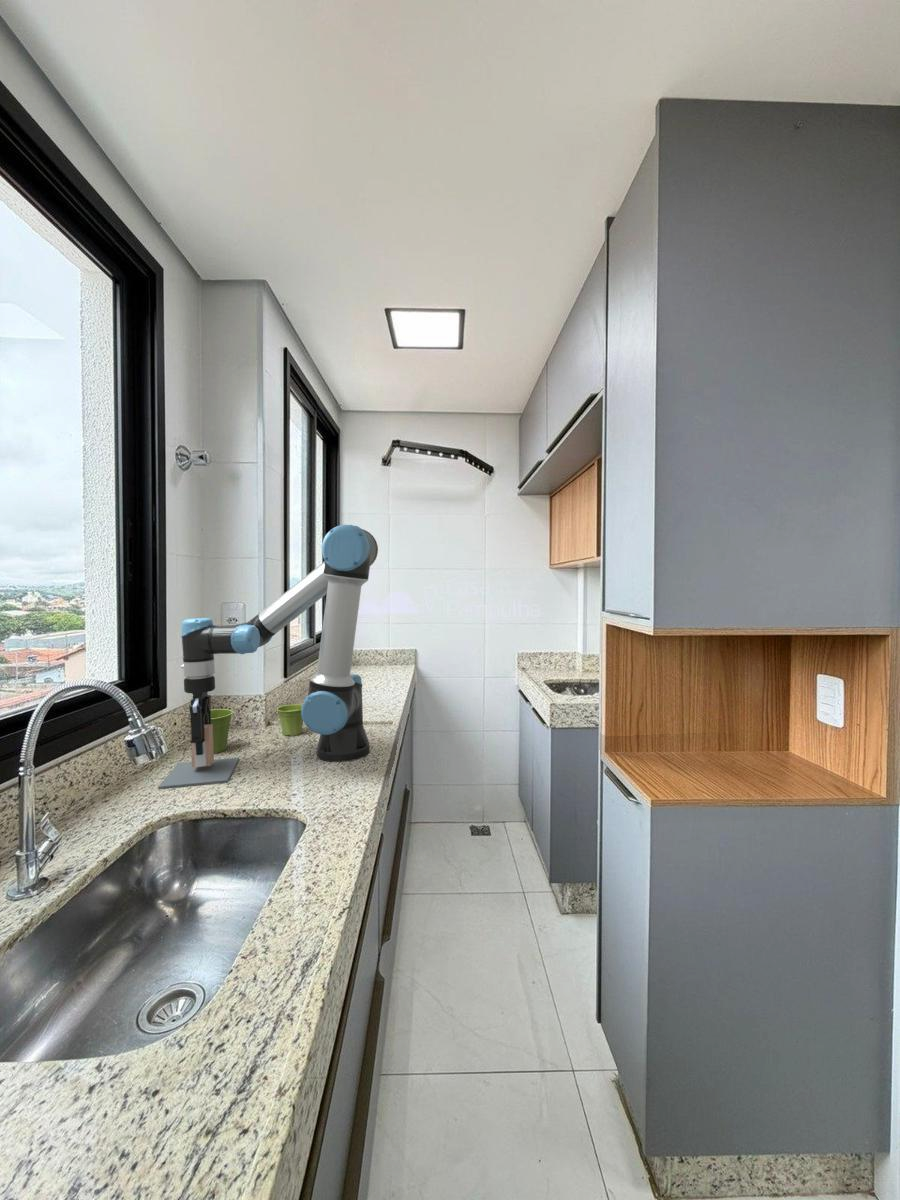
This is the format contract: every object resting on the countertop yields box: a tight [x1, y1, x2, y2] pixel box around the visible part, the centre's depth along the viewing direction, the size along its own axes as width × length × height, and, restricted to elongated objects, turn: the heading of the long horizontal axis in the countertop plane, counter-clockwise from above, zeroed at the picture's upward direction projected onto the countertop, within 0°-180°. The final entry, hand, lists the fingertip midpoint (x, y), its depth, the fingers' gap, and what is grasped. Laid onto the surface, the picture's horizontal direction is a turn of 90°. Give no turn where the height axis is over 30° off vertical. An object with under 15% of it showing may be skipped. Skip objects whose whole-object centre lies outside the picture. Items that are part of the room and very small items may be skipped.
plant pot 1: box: [189, 708, 234, 754], centre depth 164 cm, size 12×12×11 cm
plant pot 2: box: [276, 704, 304, 737], centre depth 181 cm, size 9×9×9 cm
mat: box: [157, 757, 240, 790], centre depth 145 cm, size 16×18×1 cm
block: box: [190, 724, 215, 767], centre depth 147 cm, size 4×4×10 cm
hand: (203, 762), depth 147 cm, fingers closed on block, 4 cm apart
